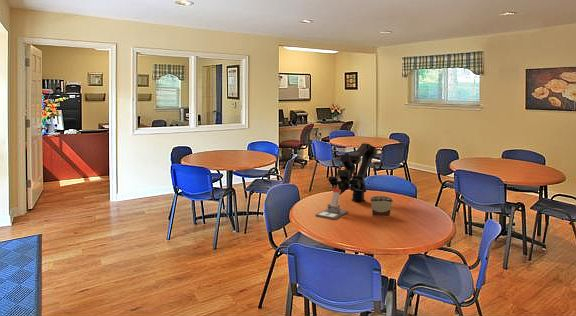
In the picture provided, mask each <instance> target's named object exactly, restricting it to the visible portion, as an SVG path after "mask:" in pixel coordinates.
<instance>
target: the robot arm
mask: <svg viewBox="0 0 576 316" xmlns="http://www.w3.org/2000/svg"><path fill="white" fill-rule="evenodd" d="M376 155H378V149H377V147H376V146H373V145H371V143H365V142H363V143H361V144H360V146H359V147H358V148H357V149H356V150H355V151H354V152H350V153H348V152H345V153H344V154H342V155H341V156H340V157H339V160H340V163H341V165H342V166H343V168H344V169H337V173H336V174H337V176H338V178H337V177H336V176H334V175H330V176H329V177H328V178H327V180H328V182H329V184H330V185H331V186H338V189H340V190H341V193H339V196H340V195H342V194H343V193H345V192H346V191H347V190H349V189H350V191H351V192H352V198H351V201H353V202H356V203H362V202H366V199H365V193H366V192H367V189H368V188H367V186H366V180H365V178H366V175H367V172H368V169H369V166H370V164H371V161H372V160H374V159H375V157H376ZM362 157H363V158H362ZM361 158H362V159H361ZM359 164H360V166H359V169H358V172H357V174H356V175H354V172H355V171H356V170H357V168H356V166H355V165H359Z"/></svg>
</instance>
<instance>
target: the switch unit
mask: <svg viewBox="0 0 576 316" xmlns="http://www.w3.org/2000/svg"><path fill="white" fill-rule="evenodd" d="M330 206H331V203H328V204H327V208H326V209H324V210H322V211H320V212H318V213H315V217H317V218H323V219H329V220H333V221H336V220H338V218H341V217H342V216H344V215H346V214H348V213H349V211H348V210H344V209H341V208H340V205H338V204H337V209H334V208H330Z"/></svg>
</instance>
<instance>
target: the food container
mask: <svg viewBox="0 0 576 316" xmlns="http://www.w3.org/2000/svg"><path fill="white" fill-rule="evenodd" d="M369 202H371V213H372V214H371V215H372V217H390V216H391V211H392V210H391V209H392V203H394V201H393V198H392V197H390V196H384V195H383V196H382V195H375V196H372V197H370V200H369Z"/></svg>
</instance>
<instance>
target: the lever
mask: <svg viewBox="0 0 576 316" xmlns="http://www.w3.org/2000/svg"><path fill="white" fill-rule="evenodd" d="M339 193H341V190H340V189H339V188H334V187H333V189H332V198H331V202H330V208H334V209H337V206H338V203H339V198H340V195H339Z"/></svg>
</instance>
